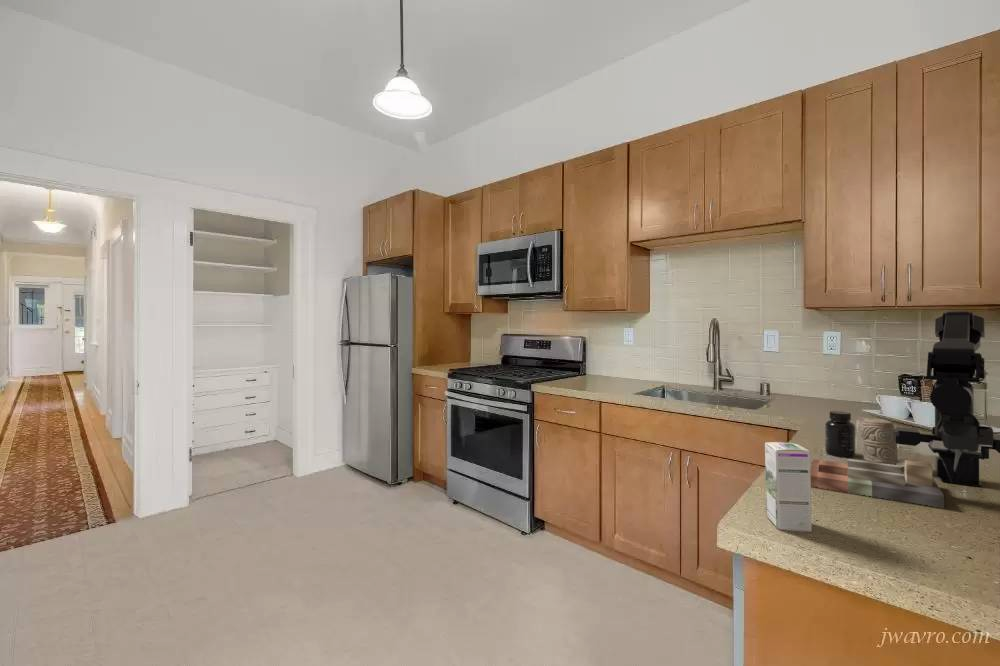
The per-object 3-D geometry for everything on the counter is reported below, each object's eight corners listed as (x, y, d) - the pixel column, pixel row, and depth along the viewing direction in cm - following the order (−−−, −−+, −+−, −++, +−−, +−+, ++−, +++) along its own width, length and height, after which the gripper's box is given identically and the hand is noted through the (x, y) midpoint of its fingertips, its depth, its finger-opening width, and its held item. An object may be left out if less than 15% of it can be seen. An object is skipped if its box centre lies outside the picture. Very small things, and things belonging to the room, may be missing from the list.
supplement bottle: (819, 451, 131) (819, 410, 131) (841, 451, 132) (841, 409, 132) (838, 458, 124) (838, 414, 124) (862, 457, 125) (861, 414, 125)
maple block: (929, 481, 98) (929, 462, 98) (932, 486, 95) (932, 467, 95) (904, 477, 100) (904, 459, 100) (906, 482, 97) (906, 464, 97)
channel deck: (931, 486, 102) (931, 466, 102) (944, 508, 89) (944, 486, 89) (812, 468, 115) (812, 451, 115) (809, 486, 103) (809, 466, 103)
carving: (866, 461, 122) (865, 416, 122) (902, 468, 115) (902, 421, 115) (856, 465, 118) (855, 419, 118) (892, 472, 112) (892, 424, 112)
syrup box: (813, 532, 80) (812, 450, 80) (776, 530, 81) (775, 448, 81) (798, 519, 85) (798, 442, 85) (764, 517, 87) (763, 441, 86)
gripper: (898, 408, 93) (898, 484, 93) (1035, 418, 82) (1035, 504, 82) (892, 401, 102) (893, 470, 102) (1015, 409, 91) (1015, 487, 91)
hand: (954, 482), depth 94 cm, fingers closed
